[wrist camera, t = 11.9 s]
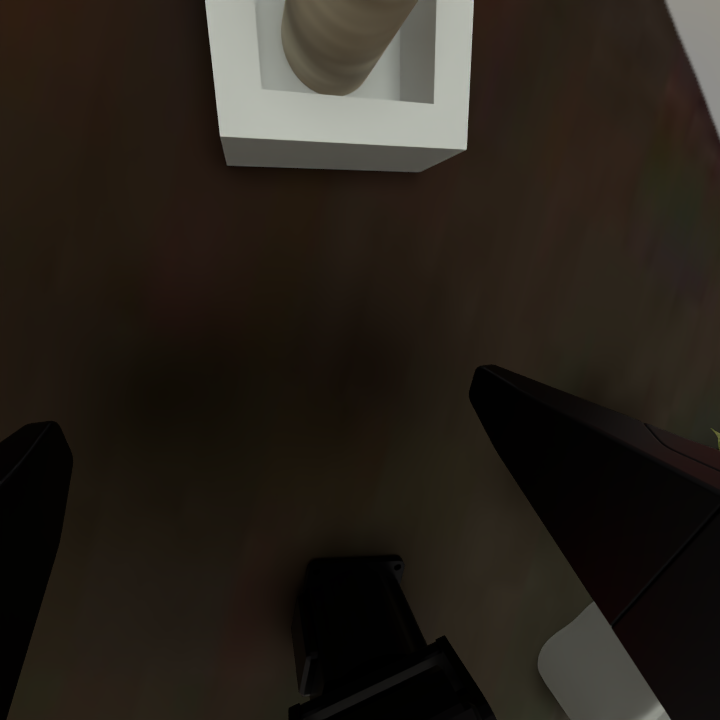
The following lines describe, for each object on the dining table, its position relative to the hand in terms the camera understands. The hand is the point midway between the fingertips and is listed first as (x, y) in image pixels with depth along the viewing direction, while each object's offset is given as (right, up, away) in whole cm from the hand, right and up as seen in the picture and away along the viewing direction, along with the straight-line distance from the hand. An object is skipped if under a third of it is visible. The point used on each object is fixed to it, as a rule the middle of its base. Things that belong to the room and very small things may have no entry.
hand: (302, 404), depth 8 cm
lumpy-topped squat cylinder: (+23, -27, +27) cm, 45 cm away
